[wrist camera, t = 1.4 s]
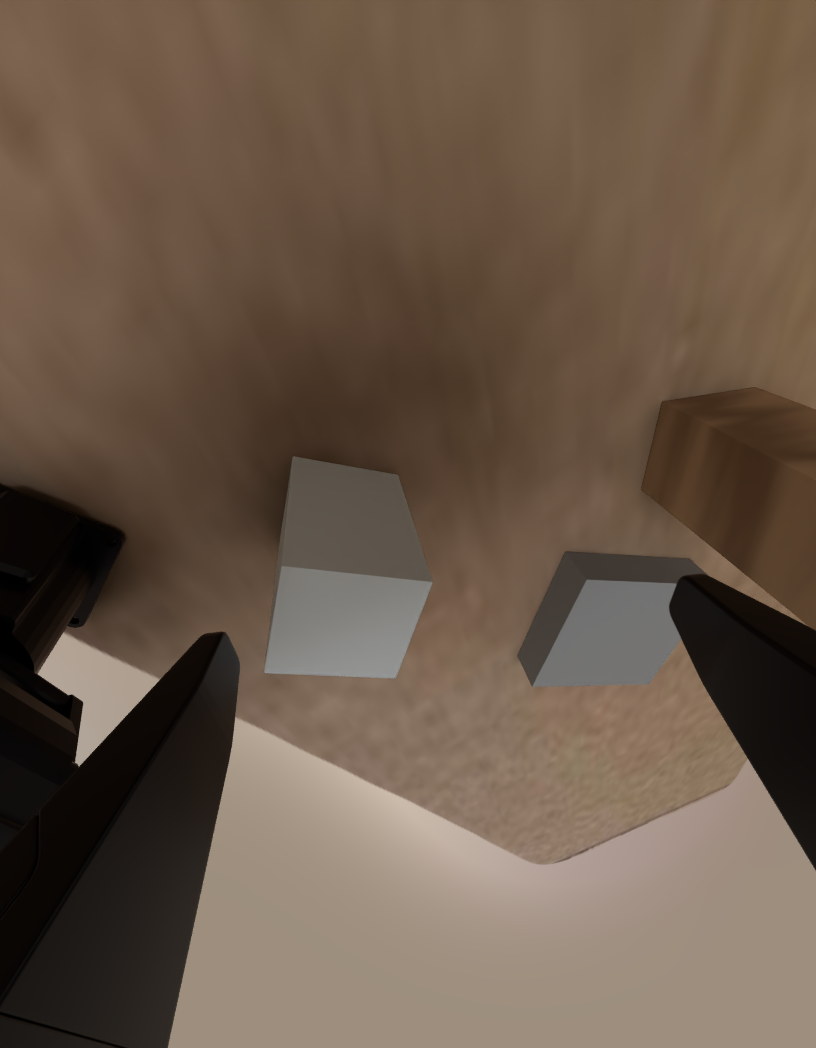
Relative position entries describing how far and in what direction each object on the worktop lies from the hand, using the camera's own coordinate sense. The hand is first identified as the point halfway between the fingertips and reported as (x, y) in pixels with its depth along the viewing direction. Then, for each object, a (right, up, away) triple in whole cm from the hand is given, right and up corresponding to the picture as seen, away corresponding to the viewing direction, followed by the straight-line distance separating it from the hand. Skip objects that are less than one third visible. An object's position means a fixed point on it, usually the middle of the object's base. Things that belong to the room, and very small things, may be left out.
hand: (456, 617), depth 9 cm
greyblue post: (-5, +3, +13) cm, 14 cm away
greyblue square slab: (+12, -4, +21) cm, 25 cm away
